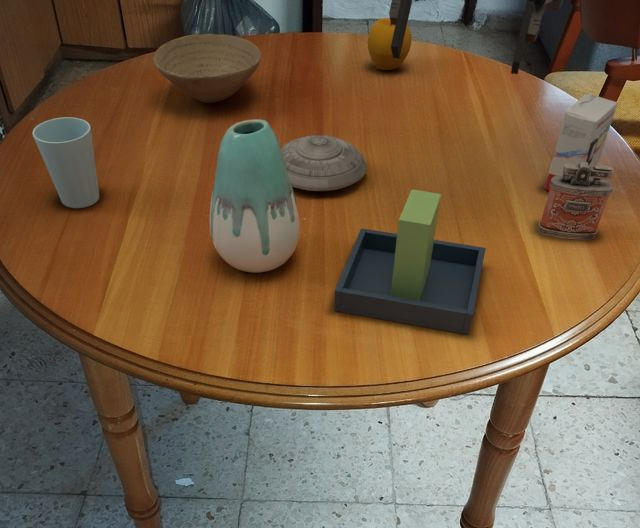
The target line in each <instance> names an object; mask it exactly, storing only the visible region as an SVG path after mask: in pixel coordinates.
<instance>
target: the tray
mask: <svg viewBox="0 0 640 528" xmlns="http://www.w3.org/2000/svg"><path fill="white" fill-rule="evenodd" d="M396 242H397V233H395V232H387V231H381V230H377V229H376V230H374V229H369V228H363V227H361V228H360V230H359V232H358V234H357V236H356V240H355V242H354V244H353V246H352V248H351V251H350V253H349V256H348V258H347V261H346V263H345V265H344V268H343V271H342V273H341V276H340V277H339V279H338V282H337V284H336V287H335V289H334V307H333V312H340V313H344V314H345V313H346V314H350V315H355V316H362V317H368V318H372V319H378V320H383V321H389V322H393V323H401V324H406V325H411V326H417V327H422V328H427V329H434V330H438V331H439V330H440V331H444V332H449V333H456V334H461V335H467V336H468V335H470V330H471V326H472V321H473V318H474V314H475V309H476V302H477V296H478V293H479V286H480V281H481V275H482V271H483V265H484V260H485V255H486V250H487V249H486V247H484V246H483V247H482V246H476V245H471V244H464V243H459V242H452V241H451V242H450V241H445V240H438V239H434V244H433V250H432V256H431V263H430V269H429V273H428V276H427V279H426V283H425V286H424V289H423V292H422V295H421V298H420V301H415V300H409V299H404V298H398V297H392V296H391V288H392V278H393V269H394V260H395V251H396Z"/></svg>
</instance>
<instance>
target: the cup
mask: <svg viewBox="0 0 640 528" xmlns="http://www.w3.org/2000/svg"><path fill="white" fill-rule="evenodd" d="M31 133H32V137H33V139H34V141H35V143H36V146H37V149H38V151H39V153H40V155H41V158H42V160H43V162H44V165H45V167H46V169H47V172H48V174H49V176H50V179H51V181H52V184H53V185H54V187H55V190H56V193H57V195H58V197H59V199H60V202H61V203H62V205H63V206H65V207H66V208H71V209H84V208H87V207H90V206H93V205H94V204H96V203H97V202H99V200H100V191H99V190H100V188H99V181H98V174H97V167H96V158H95V152H94V144H93V135H92V127H91V125H90V123H89V121H87V120H84V119H82V118H79V117H71V116H70V117H69V116H66V117H63V116H62V117H57V118H51V119H48V120H45V121H43V122H41V123H39V124H38V125H36V126H35V127H34V128H33V130H32V132H31Z"/></svg>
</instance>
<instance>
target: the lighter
mask: <svg viewBox="0 0 640 528" xmlns="http://www.w3.org/2000/svg"><path fill="white" fill-rule="evenodd" d="M613 173H614V168H613V167H612V166H606V165H595V166H589V164H588V162H584V161H583V162H580V163H579V164H565V167H564V170H563V176H554V177H553V178H552V179H551V183H550V191H548V195H547V198H546V201H545V205H544V209H543V212H542V214H541V215H542V216H541V219H540V220H539V222H538V224H537V228H536V229H537V231H538V232H539V234H542V235H544V236H549V237H554V238H559V239H566V240H567V239H568V240H593V239H595V238H596V237H597V233H598V227H599V224H600V221H601V219H602V216H603V213H604V210H605V207H606V205H607V202H608V200H609V198H610V197H609V196H610V195H611V194H612V192H613V189H614V184H613V183H612V182H611V181H609V180H610V179H612V177H613ZM570 175H571V176H570ZM590 177H593V178H590Z"/></svg>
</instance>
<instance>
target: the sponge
mask: <svg viewBox="0 0 640 528" xmlns="http://www.w3.org/2000/svg"><path fill="white" fill-rule="evenodd" d="M441 198H442V194H441V193H438V192H437V193H436V192H431V191H424V190H419V189H411V190H410V192H409V194H408V197H407V198H406V202H405V204H404V206H403V209H402V211H401V214H400V216H399V218H398V223H397V233H396V234H397V242H396V251H395V260H394V269H393V278H392V288H391V296H392V297H398V298H404V299H409V300H415V301H420V298H421V295H422V292H423V289H424V286H425V283H426V279H427V276H428V273H429V269H430V263H431V256H432V250H433V244H434V240H435V236H436V231H437V224H438V218H439V211H440V207H441Z"/></svg>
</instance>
